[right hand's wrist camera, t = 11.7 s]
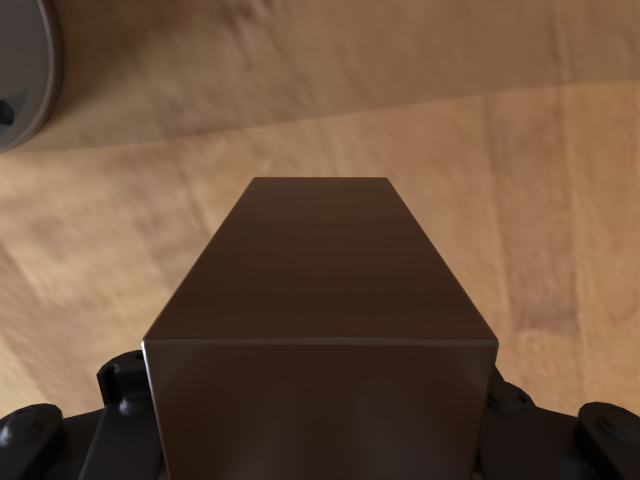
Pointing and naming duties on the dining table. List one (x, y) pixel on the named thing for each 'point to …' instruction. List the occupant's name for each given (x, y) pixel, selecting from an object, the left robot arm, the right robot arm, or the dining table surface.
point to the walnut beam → (320, 344)
